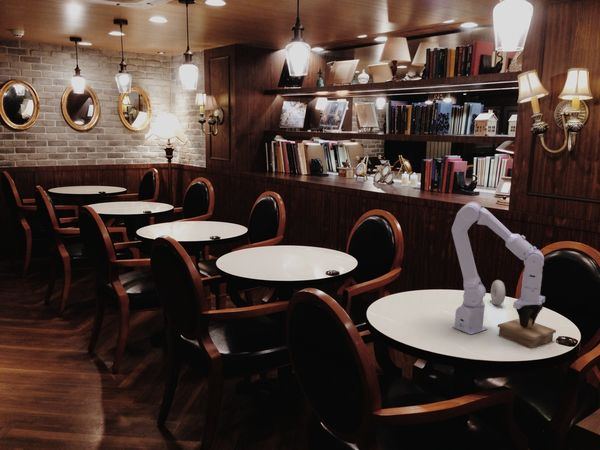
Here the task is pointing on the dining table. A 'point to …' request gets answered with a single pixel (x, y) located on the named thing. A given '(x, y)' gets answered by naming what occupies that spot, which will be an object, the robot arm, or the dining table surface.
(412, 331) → the dining table surface
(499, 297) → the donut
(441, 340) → the dining table surface
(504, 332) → the box
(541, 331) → the lid
